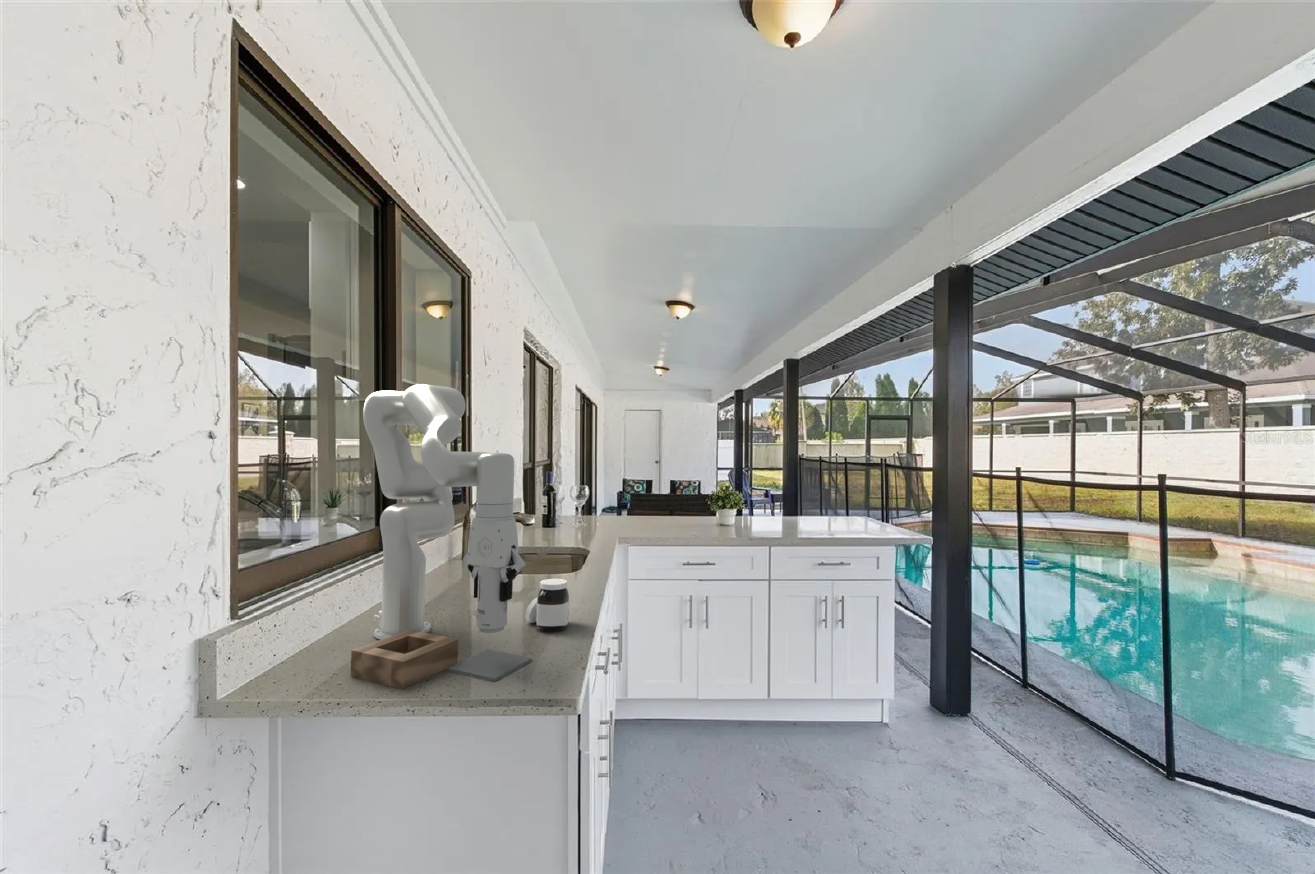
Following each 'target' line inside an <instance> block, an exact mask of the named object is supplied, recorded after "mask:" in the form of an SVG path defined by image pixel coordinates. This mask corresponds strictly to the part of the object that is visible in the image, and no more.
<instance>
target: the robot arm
mask: <svg viewBox="0 0 1315 874" xmlns="http://www.w3.org/2000/svg"><path fill="white" fill-rule="evenodd" d="M364 401H365V402H364V405H363V411H362V417H363V418H362V419H363V425H364V428H365V431H366V434H367V436H368V438H369V441H370V443H371V445H372V448H373V451H374V458H375V464H376V469H377V474H378V479H379V485H380V490H381V492H382V494H383V495H384V497H386V498H387V499H391V500H409V499H423V501H409V502H400V503H399V502H398V503H395V504H392V505H389V506H387V507H386V508H385V509H384V510H383V511H382V513H381V514H380V518H379V528H380V532H381V533H380V534H381V538H382V539H381V541H382V552H383V553H382V554H383V555H382V557H383V559H382V560H383V561H382V589H381V590H382V592H381V593H382V594H381V610H379V611H378V612H377V614H374V615H373V617H372V620H373V621H375V622H378V627H376V628H374V630H373V637H374V638H375V639H378V640H382V639H384V638H387V637H390V636H393V635H396V634H399V633H401V632H404V631H407V630H414V631H419V632H424V633H429V632H430V631H431V629H432V628H431V627H432V626H431V623H429V622H428V621H425V604H426V603H425V602H426V601H425V600H426V597H425V596H426V571H427V568H426V565H427V561H426V560H427V559H426V555H425V552H424V551H423V549H422V548H421V547H420V545H419V544H418V541H423V540H431V539H432V540H433V539H439V538H443V537H446V536H448V535H449V534H451V532H452V531H453V529H454V526H455V522H456V521H455V520H456V519H455V511H454V505H453V501H452V495H451V491H450V488H457V487H458V488H460V487H462V488H463V487H476V493H475V494H476V496H475V497H476V498H475V499H476V501H475V502H476V504H475V505H473V511H474V512H475V517H473V518H472V520H471V525H470V528H469V534H468V542H467V543H468V544H467V553H466V554H465V555H464V557H463V558H462V560H463V562H464V564H465V565H466V566H467V570H468V571H469V572H470V574H471V578H472V579H473V598H474V599H477V597H478V567H479V566H482V565H486V566H487V567H490V568H493V569H500V573H501V577H502V580H503V582H500V601H501V602H504V601H507V602H508V601H509V600H511V599H513V584H514V583H513V581H515V579H516V577H517V576H518V575H519V574H520V572H521V571H522V570H523V569H524V568H525V567H526V565H527V564H526V562H525V560H524V559H523V558H522V557H521V555H520V554H519V537H518V528H517V521H516V518H515V517H514V499H515V498H514V494H515V493H514V492H515V486H514V485H515V459H514V456H513V455H512V454H510V453H503V452H500V453H499V452H498V453H497V452H483V451H482V452H481V451H450V450H449V449H448V448H447V447H446V446H447V445H449V444H450V443H451V442H454V440H456V439H457V438H458V436H459V434H460V433H461V432H462V431H461V430H462V427H463V426H462V425H463V424H462V421H461V418H462V417H463V416H464V413H465V412H466V411H465V410H466V400H465V397H464V395H463V394H462V393H461V392H460V391H459V390H458V389H456V388H453V387H451V386H450V387H449V386H443V385H435V384H434V385H433V384H424V383H421V384H419V383H418V384H414V385H412V386H410V387H408V388H407V389H405V391H400V390H399V391H398V390H379V391H378V390H377V391H375V392H372V393H371V394H369V395H368V396H367V397H366V399H365V400H364ZM398 425H399V426H400V425H401V426H414V427H417V428H418V429H419V430H420V432H421V433H422V434H423V437H422V440H421V445H420V455H421V461H418V460H415V458H414V455H413V450H412V445H411V443H410V441H409V439H408V438H407V436H405V434H404V433H403V432H402V431H401V430H400V429H399V428H398V427H397V426H398ZM513 566H514V567H513ZM506 569H507V571H508V574H507V571H506Z"/></svg>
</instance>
